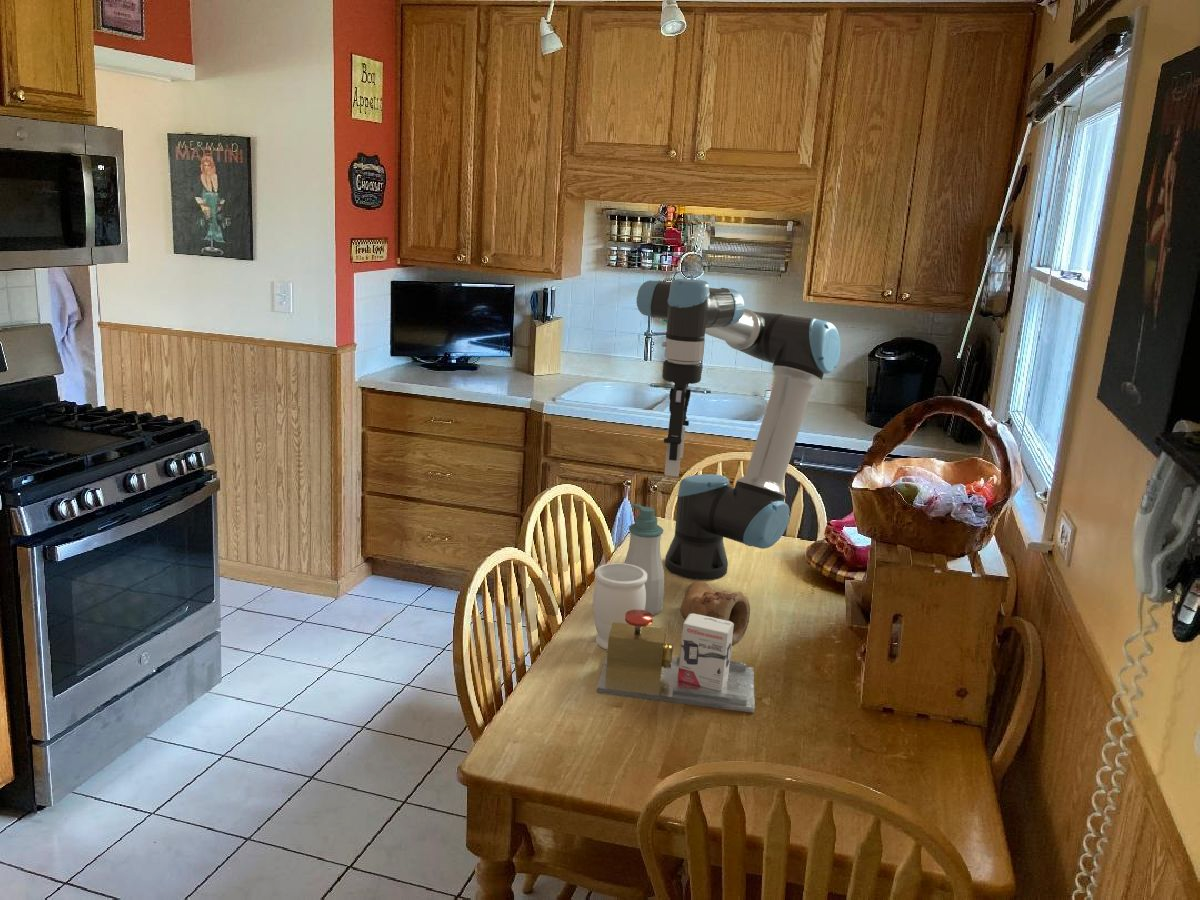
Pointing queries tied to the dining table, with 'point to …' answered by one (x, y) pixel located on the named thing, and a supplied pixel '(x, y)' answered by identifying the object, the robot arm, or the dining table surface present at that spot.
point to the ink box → (705, 651)
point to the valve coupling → (664, 670)
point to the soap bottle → (648, 556)
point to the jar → (616, 596)
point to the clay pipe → (717, 606)
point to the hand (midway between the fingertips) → (673, 466)
